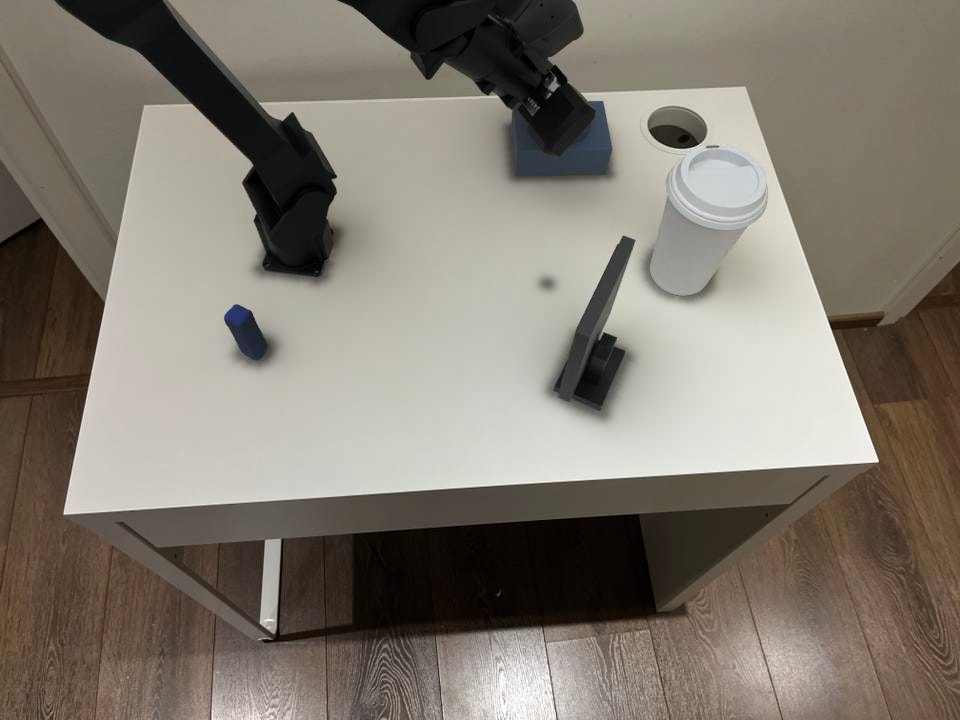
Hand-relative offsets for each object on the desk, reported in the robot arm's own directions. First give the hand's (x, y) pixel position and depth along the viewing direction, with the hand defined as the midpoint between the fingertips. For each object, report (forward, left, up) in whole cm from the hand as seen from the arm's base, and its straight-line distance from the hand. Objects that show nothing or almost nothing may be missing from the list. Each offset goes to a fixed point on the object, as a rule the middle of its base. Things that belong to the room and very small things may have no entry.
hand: (565, 105), depth 80 cm
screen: (+5, -30, -4) cm, 31 cm away
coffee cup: (+15, -16, -7) cm, 23 cm away
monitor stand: (+5, -30, -7) cm, 31 cm away
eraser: (-28, -33, -7) cm, 44 cm away
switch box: (0, 0, -7) cm, 7 cm away
